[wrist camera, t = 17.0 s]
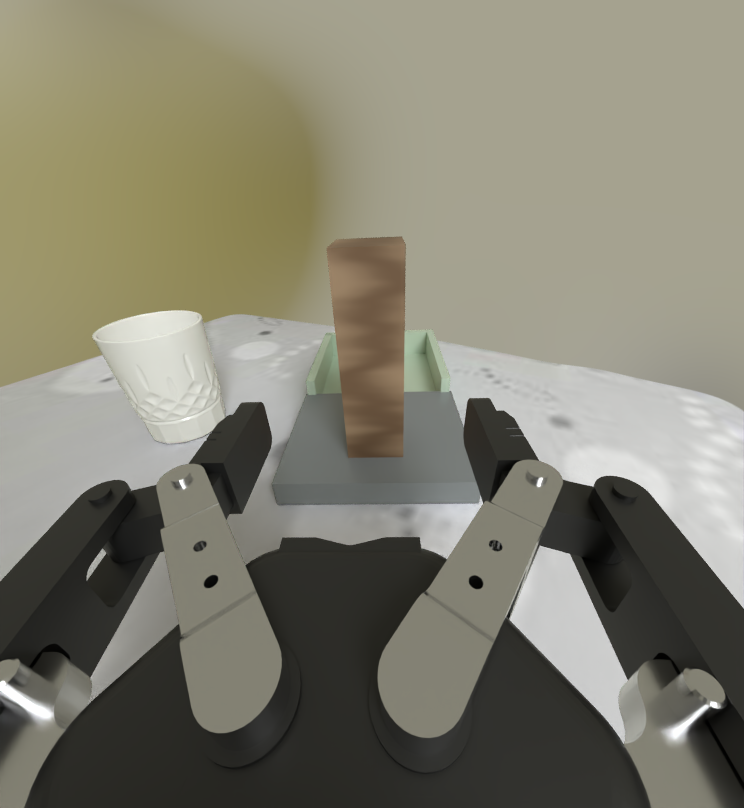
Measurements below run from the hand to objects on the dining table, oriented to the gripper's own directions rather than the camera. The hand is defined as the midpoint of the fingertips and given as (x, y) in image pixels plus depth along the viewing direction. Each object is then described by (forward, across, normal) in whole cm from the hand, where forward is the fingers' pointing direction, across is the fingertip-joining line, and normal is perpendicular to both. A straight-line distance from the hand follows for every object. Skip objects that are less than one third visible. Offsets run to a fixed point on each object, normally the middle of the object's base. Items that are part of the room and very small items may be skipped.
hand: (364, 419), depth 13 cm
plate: (+11, 0, +11) cm, 15 cm away
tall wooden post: (+10, 0, +9) cm, 13 cm away
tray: (+23, 0, +11) cm, 26 cm away
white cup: (+15, +18, +11) cm, 26 cm away
